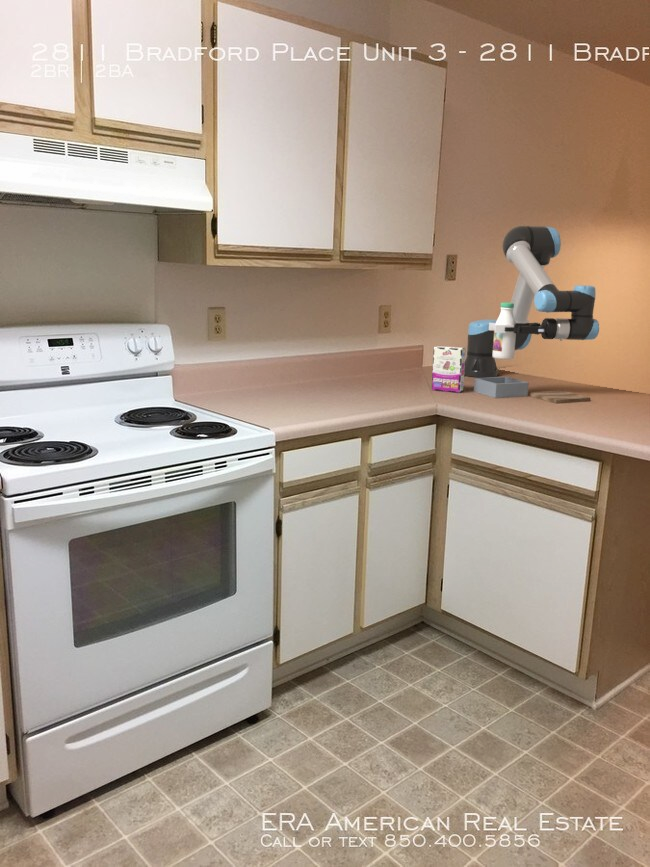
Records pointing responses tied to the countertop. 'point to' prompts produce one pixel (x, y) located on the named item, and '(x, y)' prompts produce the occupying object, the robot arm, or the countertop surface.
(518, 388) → the box
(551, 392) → the walnut board
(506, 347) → the milk bottle
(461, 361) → the candy bar box
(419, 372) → the countertop surface
